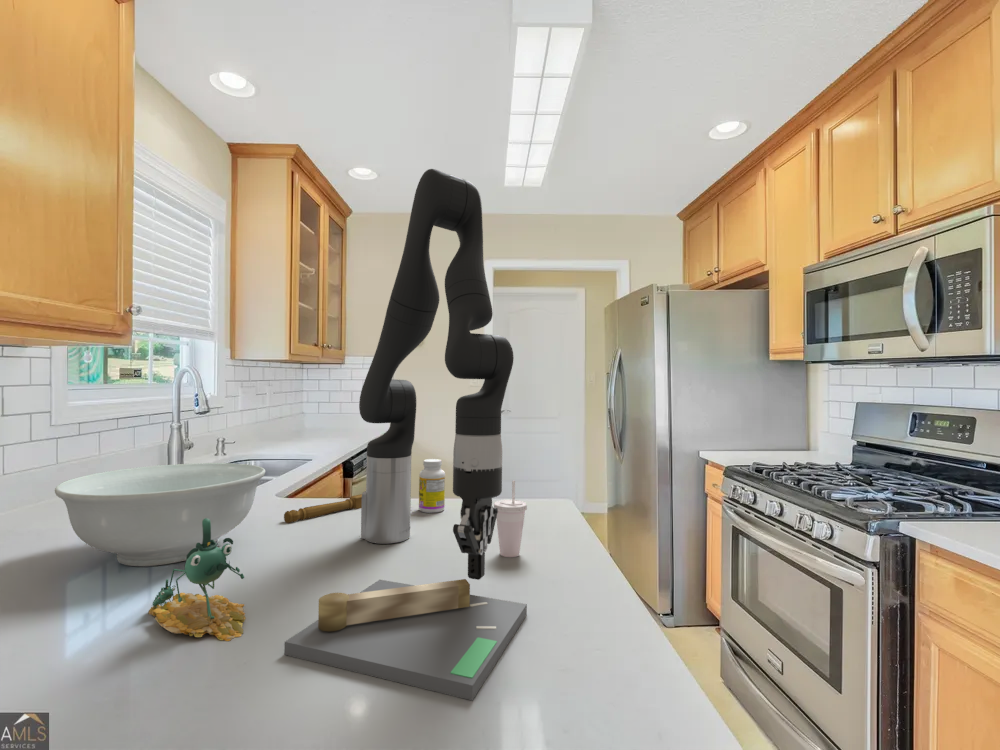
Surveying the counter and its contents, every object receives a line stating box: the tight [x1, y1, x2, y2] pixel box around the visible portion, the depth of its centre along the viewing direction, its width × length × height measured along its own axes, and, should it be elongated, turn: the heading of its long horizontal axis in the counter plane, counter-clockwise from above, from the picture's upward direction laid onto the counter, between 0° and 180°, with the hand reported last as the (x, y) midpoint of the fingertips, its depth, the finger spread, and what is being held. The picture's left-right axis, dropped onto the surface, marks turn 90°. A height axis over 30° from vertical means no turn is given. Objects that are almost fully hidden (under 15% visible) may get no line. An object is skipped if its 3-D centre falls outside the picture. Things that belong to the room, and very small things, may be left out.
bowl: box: [54, 462, 266, 567], centre depth 92 cm, size 32×32×15 cm
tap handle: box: [283, 493, 362, 524], centre depth 124 cm, size 3×3×30 cm
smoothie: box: [493, 480, 528, 558], centre depth 94 cm, size 6×6×14 cm
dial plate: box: [283, 579, 528, 701], centre depth 63 cm, size 24×20×2 cm
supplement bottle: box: [418, 458, 446, 514], centre depth 126 cm, size 7×7×13 cm
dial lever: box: [317, 578, 471, 631], centre depth 64 cm, size 19×4×3 cm, turn 111°
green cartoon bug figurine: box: [148, 518, 247, 642], centre depth 66 cm, size 10×18×15 cm, turn 57°
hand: (476, 577), depth 74 cm, fingers closed
